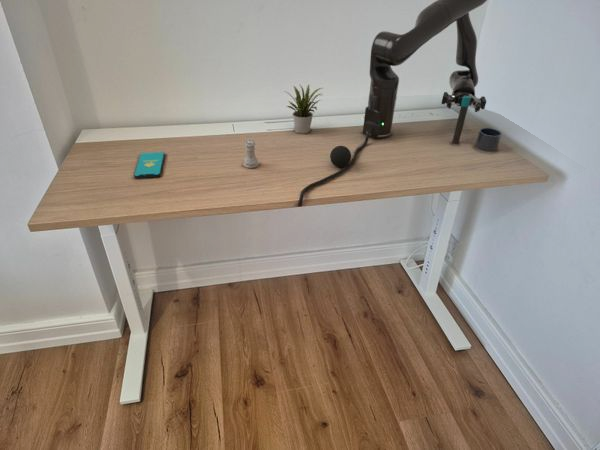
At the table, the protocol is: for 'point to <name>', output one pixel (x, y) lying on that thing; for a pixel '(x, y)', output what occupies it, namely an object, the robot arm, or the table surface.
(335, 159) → the black round ball
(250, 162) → the rook chess piece
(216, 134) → the table surface
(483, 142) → the pen cup
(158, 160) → the passport
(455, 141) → the marker
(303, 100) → the house plant
